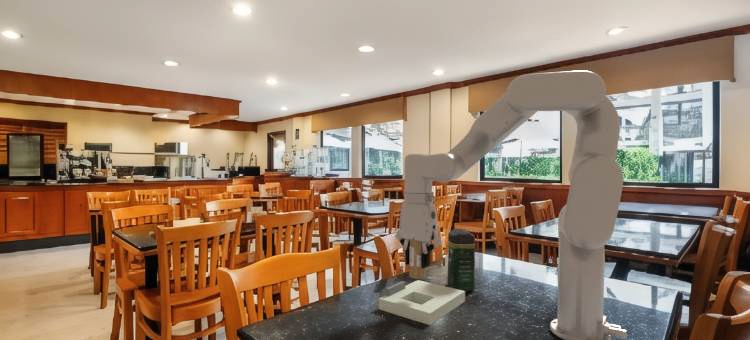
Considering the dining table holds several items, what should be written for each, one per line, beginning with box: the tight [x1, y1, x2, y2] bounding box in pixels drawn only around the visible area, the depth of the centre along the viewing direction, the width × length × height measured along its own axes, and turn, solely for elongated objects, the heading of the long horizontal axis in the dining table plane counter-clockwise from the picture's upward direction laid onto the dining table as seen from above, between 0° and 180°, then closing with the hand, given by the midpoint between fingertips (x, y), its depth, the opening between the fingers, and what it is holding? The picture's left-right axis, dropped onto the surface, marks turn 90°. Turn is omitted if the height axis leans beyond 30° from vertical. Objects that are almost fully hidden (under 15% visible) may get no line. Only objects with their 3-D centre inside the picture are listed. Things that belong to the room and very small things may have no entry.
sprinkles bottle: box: [408, 234, 426, 280], centre depth 104 cm, size 5×5×14 cm
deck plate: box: [378, 279, 466, 326], centre depth 107 cm, size 16×20×5 cm
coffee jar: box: [447, 228, 476, 293], centre depth 121 cm, size 10×8×19 cm
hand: (417, 264), depth 104 cm, fingers closed on sprinkles bottle, 4 cm apart
